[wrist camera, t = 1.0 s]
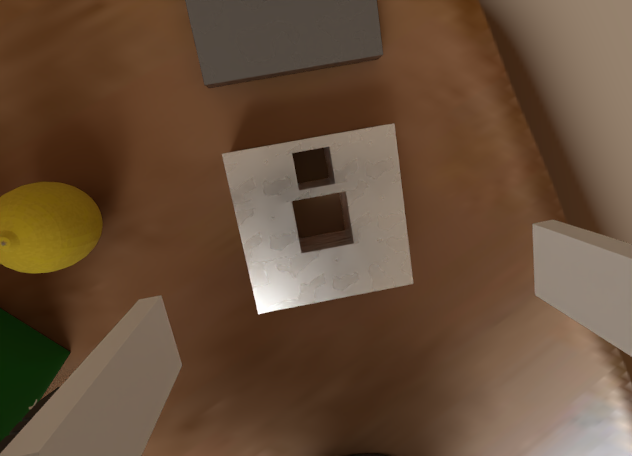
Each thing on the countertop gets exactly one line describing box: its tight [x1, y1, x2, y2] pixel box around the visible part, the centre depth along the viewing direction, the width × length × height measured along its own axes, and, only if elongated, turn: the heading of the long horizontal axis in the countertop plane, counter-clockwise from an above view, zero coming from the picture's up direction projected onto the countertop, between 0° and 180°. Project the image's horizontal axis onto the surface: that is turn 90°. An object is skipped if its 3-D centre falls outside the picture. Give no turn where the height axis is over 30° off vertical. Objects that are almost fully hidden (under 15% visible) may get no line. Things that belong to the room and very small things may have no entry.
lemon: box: [0, 182, 103, 274], centre depth 24 cm, size 6×6×8 cm
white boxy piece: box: [222, 123, 413, 314], centre depth 27 cm, size 11×11×4 cm
